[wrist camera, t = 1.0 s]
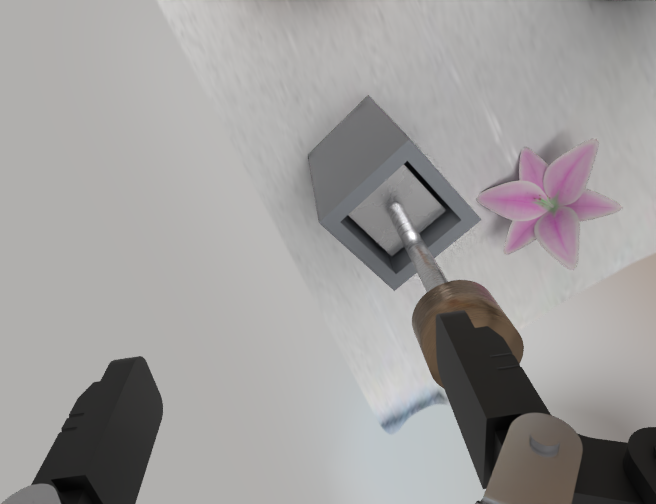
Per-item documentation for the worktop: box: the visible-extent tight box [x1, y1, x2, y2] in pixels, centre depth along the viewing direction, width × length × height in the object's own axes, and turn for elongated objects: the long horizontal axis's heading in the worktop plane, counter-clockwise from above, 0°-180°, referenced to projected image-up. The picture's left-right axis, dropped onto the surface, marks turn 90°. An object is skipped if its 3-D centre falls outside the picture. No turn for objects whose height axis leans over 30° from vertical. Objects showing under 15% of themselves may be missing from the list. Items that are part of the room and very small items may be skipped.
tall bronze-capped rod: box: [348, 164, 524, 388], centre depth 27 cm, size 5×5×16 cm
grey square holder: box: [308, 95, 481, 291], centre depth 39 cm, size 8×8×16 cm
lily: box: [476, 139, 622, 270], centre depth 46 cm, size 12×12×10 cm
